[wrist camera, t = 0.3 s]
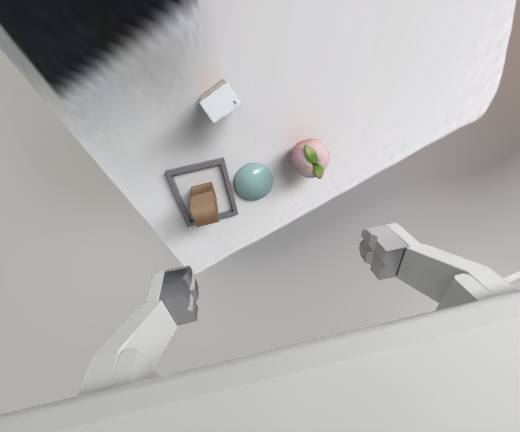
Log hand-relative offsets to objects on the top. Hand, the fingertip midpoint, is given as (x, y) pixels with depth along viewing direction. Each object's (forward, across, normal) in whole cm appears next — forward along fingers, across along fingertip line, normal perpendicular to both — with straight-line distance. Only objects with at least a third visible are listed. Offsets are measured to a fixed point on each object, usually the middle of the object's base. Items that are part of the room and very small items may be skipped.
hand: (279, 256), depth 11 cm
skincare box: (+48, +2, -1) cm, 48 cm away
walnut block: (+47, +10, +20) cm, 52 cm away
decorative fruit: (+48, -17, +14) cm, 53 cm away
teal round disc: (+48, -3, +20) cm, 52 cm away
